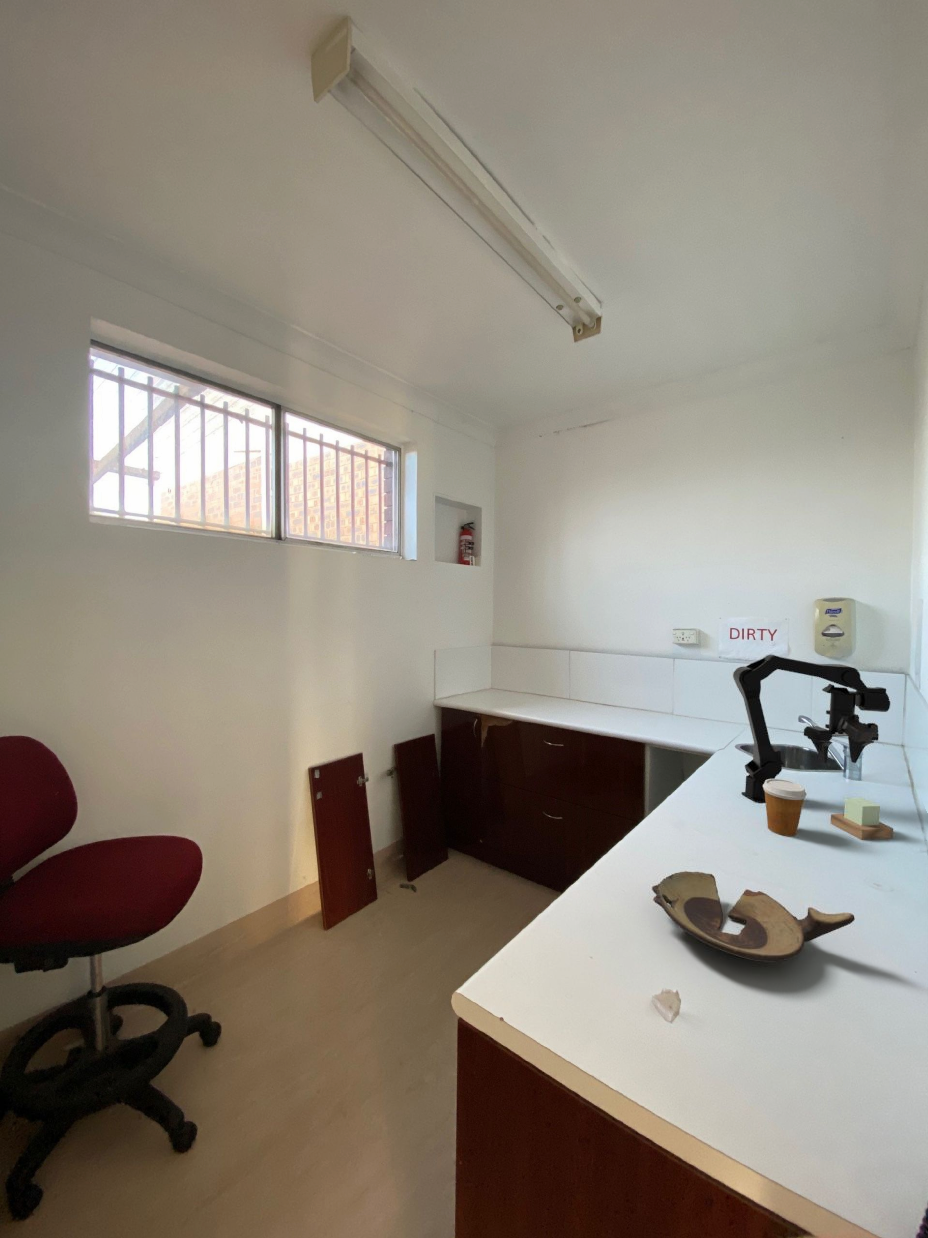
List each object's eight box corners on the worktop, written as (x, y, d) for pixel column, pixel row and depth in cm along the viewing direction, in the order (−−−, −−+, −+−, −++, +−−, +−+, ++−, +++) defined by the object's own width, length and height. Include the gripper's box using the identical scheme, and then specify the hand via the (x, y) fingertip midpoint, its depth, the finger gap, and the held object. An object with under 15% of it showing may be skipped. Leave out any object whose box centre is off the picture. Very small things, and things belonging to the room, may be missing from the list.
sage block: (861, 825, 128) (862, 806, 128) (844, 817, 133) (845, 798, 133) (878, 825, 129) (880, 805, 129) (860, 816, 134) (862, 798, 134)
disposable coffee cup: (761, 833, 128) (764, 787, 128) (759, 819, 137) (762, 775, 136) (806, 843, 124) (809, 795, 123) (801, 827, 132) (804, 782, 132)
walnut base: (861, 839, 126) (862, 830, 126) (830, 823, 135) (830, 814, 135) (892, 838, 127) (893, 828, 127) (860, 822, 136) (860, 813, 136)
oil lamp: (672, 881, 106) (673, 845, 106) (852, 945, 88) (855, 902, 87) (634, 936, 89) (636, 894, 88) (850, 1031, 70) (853, 977, 70)
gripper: (835, 716, 136) (832, 773, 137) (898, 715, 138) (895, 772, 139) (803, 706, 147) (800, 759, 148) (862, 706, 149) (859, 759, 150)
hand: (839, 762), depth 146 cm, fingers open, 9 cm apart
